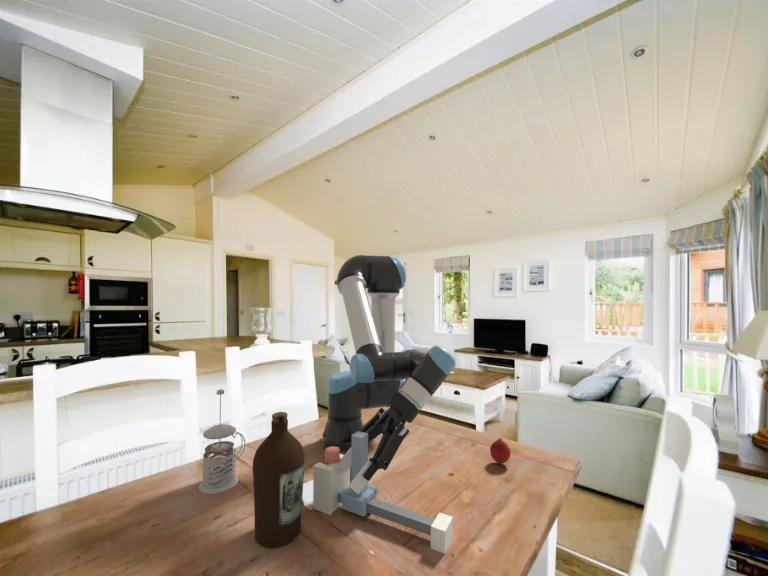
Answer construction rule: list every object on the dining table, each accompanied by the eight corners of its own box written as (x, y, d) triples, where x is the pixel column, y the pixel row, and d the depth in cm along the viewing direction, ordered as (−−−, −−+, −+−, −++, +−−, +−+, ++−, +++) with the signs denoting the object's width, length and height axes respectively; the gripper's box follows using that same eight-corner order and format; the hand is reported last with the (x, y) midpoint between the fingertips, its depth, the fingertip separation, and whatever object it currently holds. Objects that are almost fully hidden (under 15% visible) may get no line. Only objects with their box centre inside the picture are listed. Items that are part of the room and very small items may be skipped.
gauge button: (321, 461, 83) (321, 450, 83) (331, 455, 86) (331, 445, 86) (333, 465, 81) (333, 454, 81) (342, 458, 84) (342, 448, 84)
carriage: (340, 509, 78) (341, 436, 78) (356, 495, 83) (356, 427, 84) (362, 518, 75) (363, 442, 75) (377, 502, 81) (377, 432, 81)
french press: (192, 483, 91) (194, 389, 92) (235, 467, 100) (237, 381, 100) (206, 498, 84) (208, 397, 85) (251, 480, 93) (252, 387, 93)
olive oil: (240, 539, 70) (242, 417, 71) (278, 510, 80) (280, 403, 80) (277, 558, 65) (279, 427, 66) (314, 525, 75) (315, 411, 75)
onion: (511, 470, 99) (511, 442, 99) (491, 467, 100) (491, 440, 100) (508, 460, 105) (508, 434, 105) (489, 458, 106) (489, 432, 106)
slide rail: (313, 508, 81) (313, 465, 81) (333, 491, 88) (334, 452, 88) (442, 559, 65) (442, 506, 66) (455, 533, 72) (455, 486, 73)
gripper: (441, 424, 75) (374, 515, 68) (400, 398, 96) (345, 466, 89) (419, 403, 73) (348, 494, 67) (382, 381, 94) (325, 448, 87)
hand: (347, 478), depth 78 cm, fingers open, 10 cm apart
